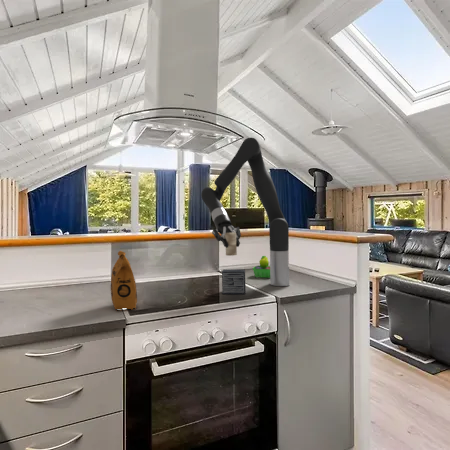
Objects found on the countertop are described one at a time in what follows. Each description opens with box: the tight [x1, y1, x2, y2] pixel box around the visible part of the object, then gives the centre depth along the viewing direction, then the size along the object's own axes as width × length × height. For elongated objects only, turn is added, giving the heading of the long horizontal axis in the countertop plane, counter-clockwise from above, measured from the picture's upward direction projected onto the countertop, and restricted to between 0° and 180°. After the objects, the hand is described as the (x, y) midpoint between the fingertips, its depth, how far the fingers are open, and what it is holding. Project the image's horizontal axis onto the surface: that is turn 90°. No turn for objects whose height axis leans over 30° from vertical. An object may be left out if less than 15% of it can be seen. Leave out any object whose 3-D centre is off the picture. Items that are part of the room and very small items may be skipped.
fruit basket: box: [252, 255, 270, 279], centre depth 180 cm, size 11×9×11 cm
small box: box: [221, 268, 247, 295], centre depth 147 cm, size 11×6×10 cm, turn 84°
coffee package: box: [110, 250, 138, 310], centre depth 128 cm, size 10×12×22 cm
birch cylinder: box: [225, 233, 238, 257], centre depth 146 cm, size 5×5×10 cm
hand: (232, 246), depth 144 cm, fingers closed on birch cylinder, 5 cm apart
